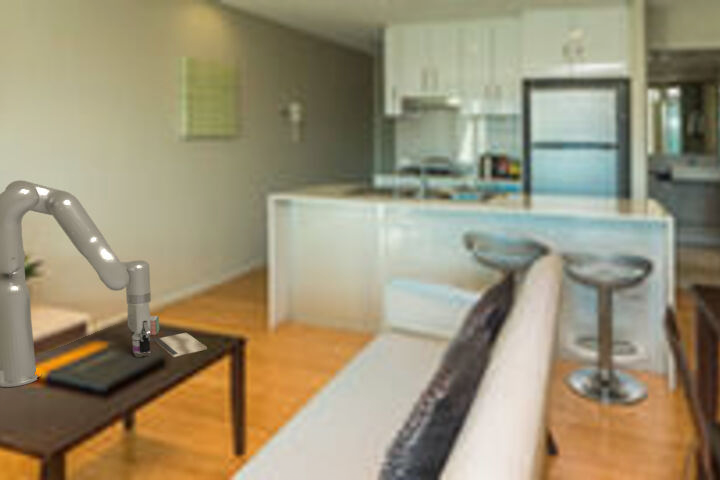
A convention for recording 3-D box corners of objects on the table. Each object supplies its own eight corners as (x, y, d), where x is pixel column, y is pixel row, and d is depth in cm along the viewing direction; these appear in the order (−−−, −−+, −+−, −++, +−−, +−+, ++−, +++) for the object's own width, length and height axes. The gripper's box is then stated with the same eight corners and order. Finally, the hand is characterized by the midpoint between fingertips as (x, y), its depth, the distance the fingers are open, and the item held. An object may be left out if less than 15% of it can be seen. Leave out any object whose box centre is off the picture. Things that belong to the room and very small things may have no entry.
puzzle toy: (159, 329, 218) (158, 315, 217) (156, 335, 212) (156, 320, 211) (144, 330, 217) (143, 316, 216) (140, 335, 211) (140, 321, 210)
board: (173, 357, 192) (173, 354, 192) (154, 341, 206) (154, 339, 205) (206, 349, 199) (206, 346, 199) (186, 334, 213) (186, 332, 213)
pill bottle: (144, 350, 197) (143, 324, 195) (153, 354, 193) (151, 327, 192) (130, 355, 193) (128, 328, 191) (138, 359, 189) (136, 331, 187)
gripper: (118, 293, 193) (121, 343, 197) (135, 306, 180) (138, 359, 184) (141, 290, 198) (143, 338, 201) (159, 302, 185) (161, 353, 188)
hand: (141, 347), depth 192 cm, fingers open, 6 cm apart
